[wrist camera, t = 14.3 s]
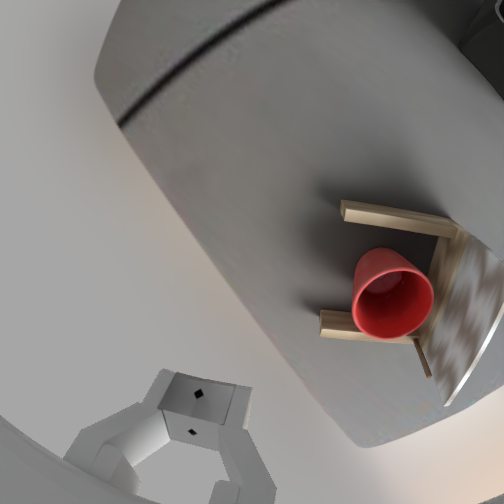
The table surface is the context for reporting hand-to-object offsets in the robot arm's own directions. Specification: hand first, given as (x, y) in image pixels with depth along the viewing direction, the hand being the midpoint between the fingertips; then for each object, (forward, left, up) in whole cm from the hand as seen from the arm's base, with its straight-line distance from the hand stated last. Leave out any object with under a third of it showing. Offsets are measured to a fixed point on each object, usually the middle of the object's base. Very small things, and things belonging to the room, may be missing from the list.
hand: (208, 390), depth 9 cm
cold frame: (+10, +16, -33) cm, 38 cm away
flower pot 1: (+10, +16, -33) cm, 38 cm away
